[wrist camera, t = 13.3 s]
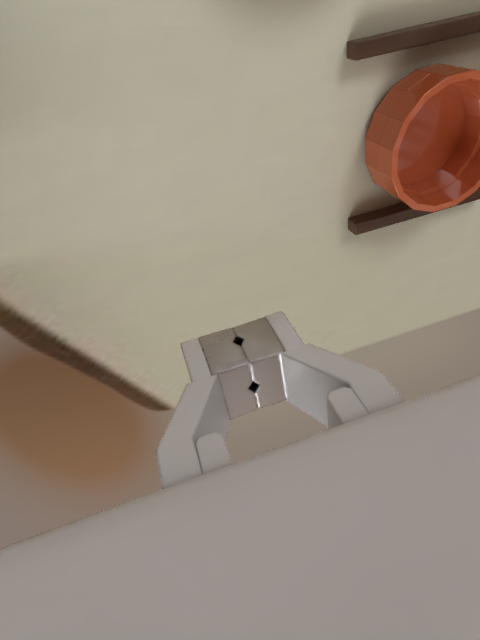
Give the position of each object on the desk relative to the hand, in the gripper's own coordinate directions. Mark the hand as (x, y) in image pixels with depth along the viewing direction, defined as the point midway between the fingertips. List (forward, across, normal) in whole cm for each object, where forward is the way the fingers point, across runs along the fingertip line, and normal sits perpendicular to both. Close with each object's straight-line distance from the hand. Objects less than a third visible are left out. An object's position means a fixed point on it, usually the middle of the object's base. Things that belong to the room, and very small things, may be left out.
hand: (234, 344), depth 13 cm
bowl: (+28, -25, +7) cm, 38 cm away
